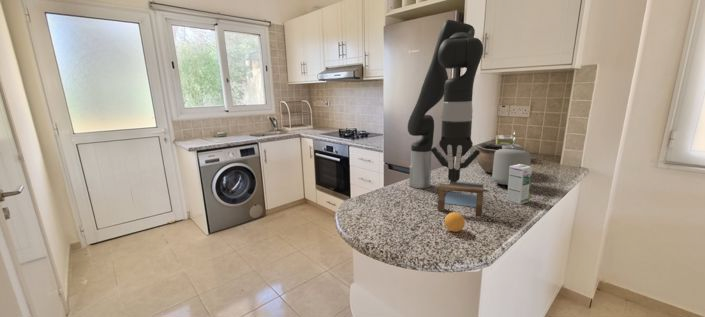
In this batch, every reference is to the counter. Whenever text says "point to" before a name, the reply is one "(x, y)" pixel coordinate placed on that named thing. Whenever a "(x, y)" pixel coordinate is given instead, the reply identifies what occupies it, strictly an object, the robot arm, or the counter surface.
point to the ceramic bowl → (489, 154)
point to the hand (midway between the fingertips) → (453, 181)
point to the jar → (508, 162)
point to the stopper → (467, 184)
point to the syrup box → (519, 183)
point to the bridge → (463, 189)
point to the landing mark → (461, 199)
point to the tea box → (505, 139)
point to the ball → (454, 222)
